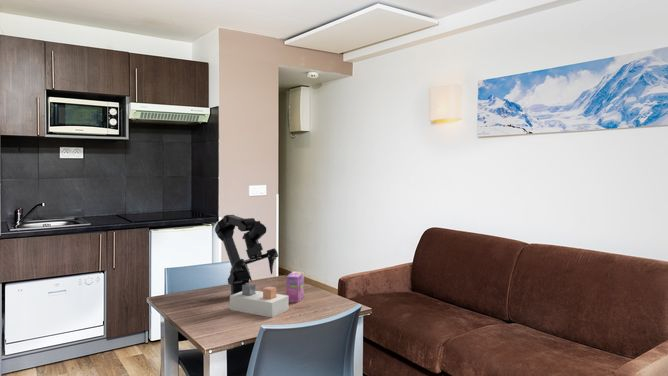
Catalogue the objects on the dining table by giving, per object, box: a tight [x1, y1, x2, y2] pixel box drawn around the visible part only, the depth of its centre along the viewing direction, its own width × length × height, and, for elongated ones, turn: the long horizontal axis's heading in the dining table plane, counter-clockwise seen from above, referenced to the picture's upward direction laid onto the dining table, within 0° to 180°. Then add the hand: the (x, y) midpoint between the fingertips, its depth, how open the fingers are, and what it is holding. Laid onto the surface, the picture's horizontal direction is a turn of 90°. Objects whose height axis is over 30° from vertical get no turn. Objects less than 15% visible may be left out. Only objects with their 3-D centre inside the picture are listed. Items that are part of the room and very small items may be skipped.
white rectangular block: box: [229, 290, 290, 318], centre depth 195 cm, size 22×12×6 cm, turn 63°
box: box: [285, 271, 305, 303], centre depth 211 cm, size 10×6×12 cm, turn 168°
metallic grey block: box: [242, 283, 256, 296], centre depth 197 cm, size 4×4×6 cm
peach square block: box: [262, 285, 277, 299], centre depth 192 cm, size 4×4×6 cm
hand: (261, 277), depth 197 cm, fingers open, 9 cm apart
